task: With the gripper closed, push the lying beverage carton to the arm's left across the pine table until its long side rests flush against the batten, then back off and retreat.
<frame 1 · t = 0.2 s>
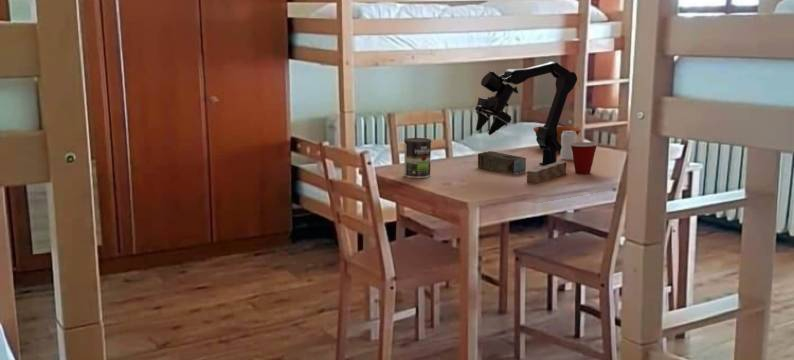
hand: (482, 132, 324), 15 cm above the table, tool tilted 30°, fingers open, 9 cm apart
beverage carton: (501, 170, 327), on the table
batten: (546, 178, 312), on the table
coffee can: (417, 176, 315), on the table
plastic cup: (582, 173, 322), on the table
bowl: (556, 149, 374), on the table
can: (568, 159, 351), on the table
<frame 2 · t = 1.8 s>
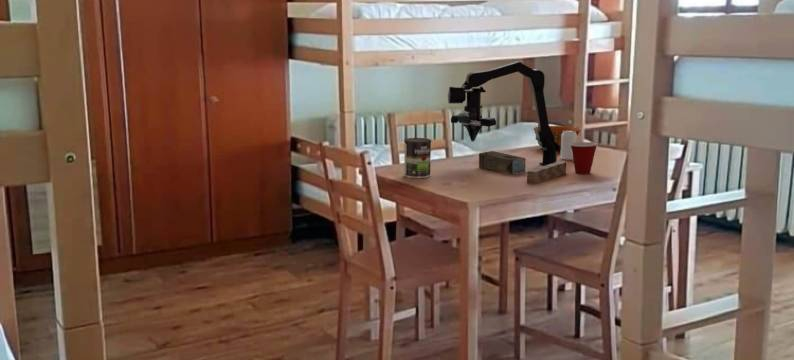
hand: (472, 141, 334), 10 cm above the table, tool pointing down, fingers closed
nothing on the table moved.
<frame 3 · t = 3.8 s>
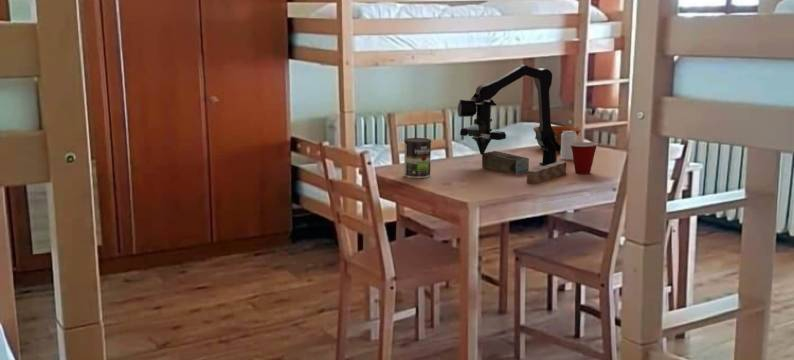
hand: (481, 154, 332), 5 cm above the table, tool pointing down, fingers closed
beverage carton: (504, 170, 327), on the table, touching gripper
everything else where it was.
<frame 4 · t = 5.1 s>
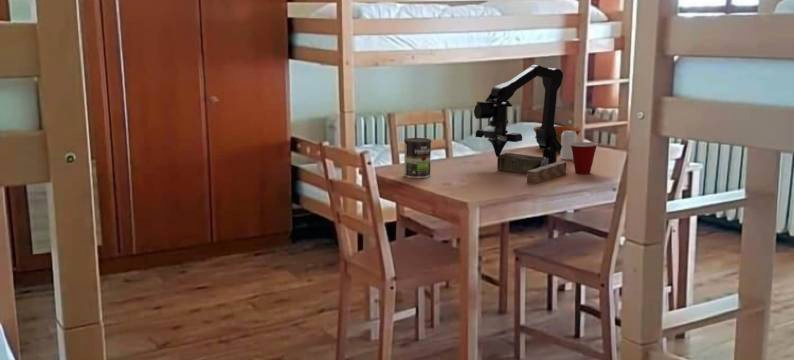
hand: (497, 156, 327), 5 cm above the table, tool pointing down, fingers closed
beverage carton: (522, 172, 325), on the table, touching gripper
everything else where it was.
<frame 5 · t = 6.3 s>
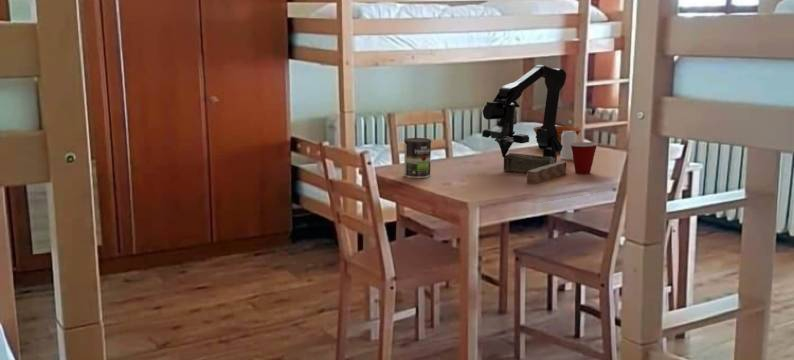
hand: (503, 157, 325), 5 cm above the table, tool pointing down, fingers closed
beverage carton: (528, 172, 324), on the table, touching batten, gripper
everything else where it was.
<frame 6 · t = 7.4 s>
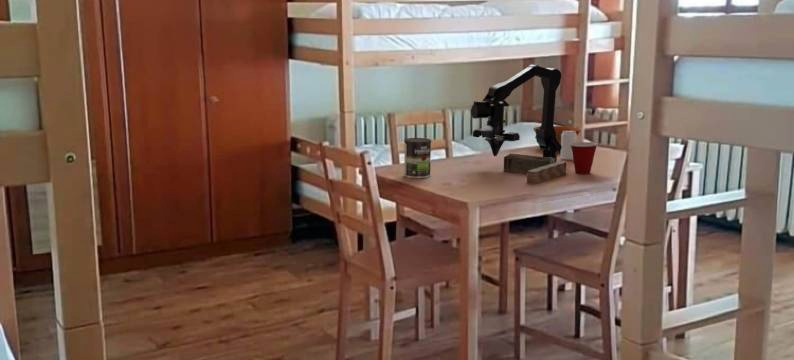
hand: (495, 156, 328), 5 cm above the table, tool pointing down, fingers closed
beverage carton: (528, 172, 324), on the table
everything else where it was.
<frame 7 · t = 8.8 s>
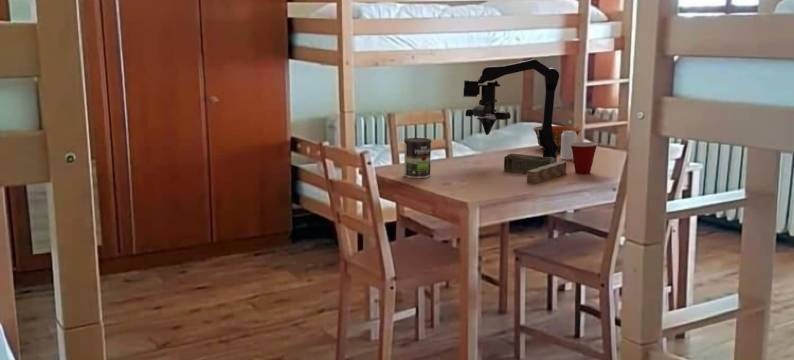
hand: (487, 134, 338), 12 cm above the table, tool pointing down, fingers closed
nothing on the table moved.
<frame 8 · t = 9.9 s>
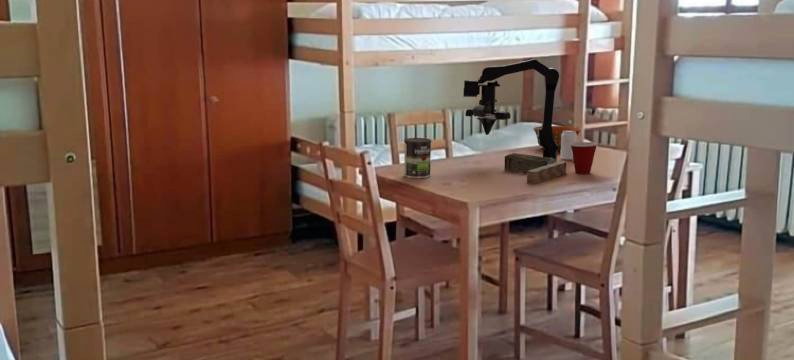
hand: (487, 134, 338), 12 cm above the table, tool pointing down, fingers closed
at the end: beverage carton inside the target area on the table beside the batten (4.7 cm from its centre), on the table; beverage carton tilted 0°; beverage carton moved 11.3 cm from its start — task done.
